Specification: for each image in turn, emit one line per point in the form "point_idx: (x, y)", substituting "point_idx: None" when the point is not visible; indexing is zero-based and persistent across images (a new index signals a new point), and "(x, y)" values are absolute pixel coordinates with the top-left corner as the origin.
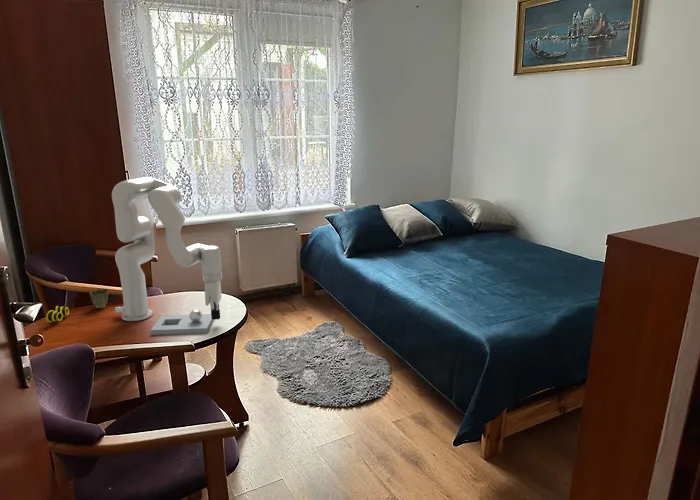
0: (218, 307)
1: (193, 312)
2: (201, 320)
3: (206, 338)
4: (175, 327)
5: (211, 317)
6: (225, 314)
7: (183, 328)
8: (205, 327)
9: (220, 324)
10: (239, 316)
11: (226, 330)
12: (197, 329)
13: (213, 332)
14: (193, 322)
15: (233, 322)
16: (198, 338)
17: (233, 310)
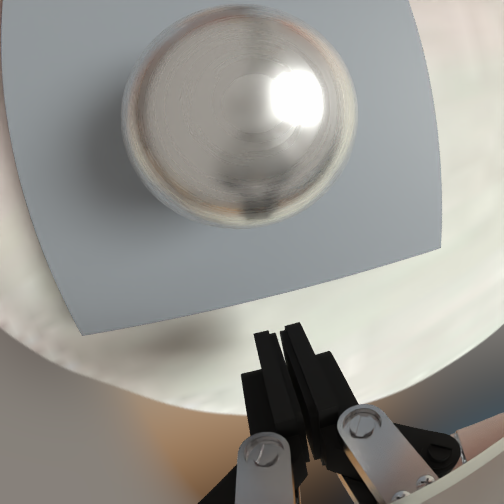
0: (338, 474)
1: (155, 100)
2: None
3: (26, 334)
4: (37, 3)
5: (365, 258)
6: (465, 278)
7: (16, 94)
8: (88, 315)
9: None
10: (418, 373)
11: (184, 407)
12: (45, 244)
13: (121, 347)
14: None
15: None
16: (2, 281)
17: (500, 295)
